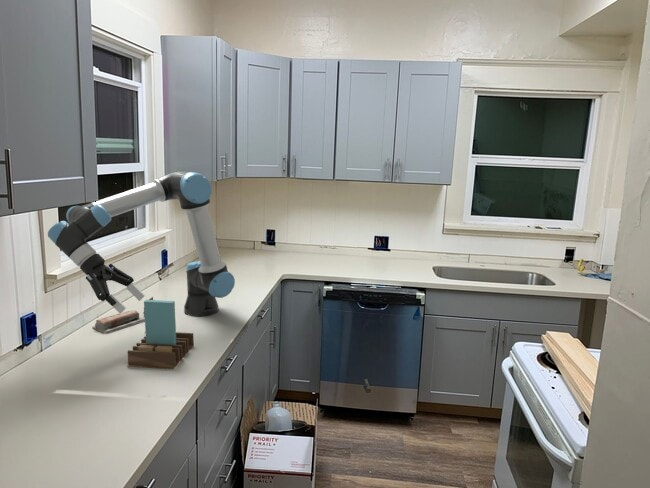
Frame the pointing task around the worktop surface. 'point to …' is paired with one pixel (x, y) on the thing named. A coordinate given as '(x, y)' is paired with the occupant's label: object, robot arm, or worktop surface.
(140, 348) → the offcut
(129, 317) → the packaged product
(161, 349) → the offcut
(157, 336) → the tall board
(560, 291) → the worktop surface
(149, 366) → the rack
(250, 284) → the worktop surface
